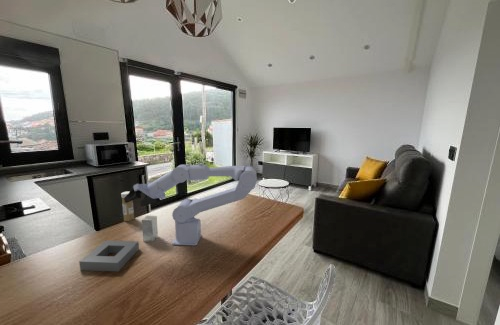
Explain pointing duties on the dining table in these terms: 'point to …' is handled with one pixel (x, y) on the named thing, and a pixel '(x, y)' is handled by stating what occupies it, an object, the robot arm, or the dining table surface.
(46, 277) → the dining table surface
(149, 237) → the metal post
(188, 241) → the robot arm
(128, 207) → the sprinkles bottle
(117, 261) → the frame
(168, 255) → the dining table surface
